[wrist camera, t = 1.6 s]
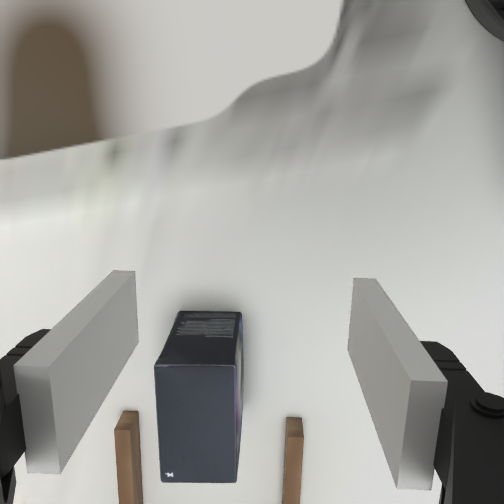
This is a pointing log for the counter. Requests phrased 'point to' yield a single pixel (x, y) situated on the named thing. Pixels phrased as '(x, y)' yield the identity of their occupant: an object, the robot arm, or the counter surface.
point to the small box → (200, 398)
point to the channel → (131, 459)
